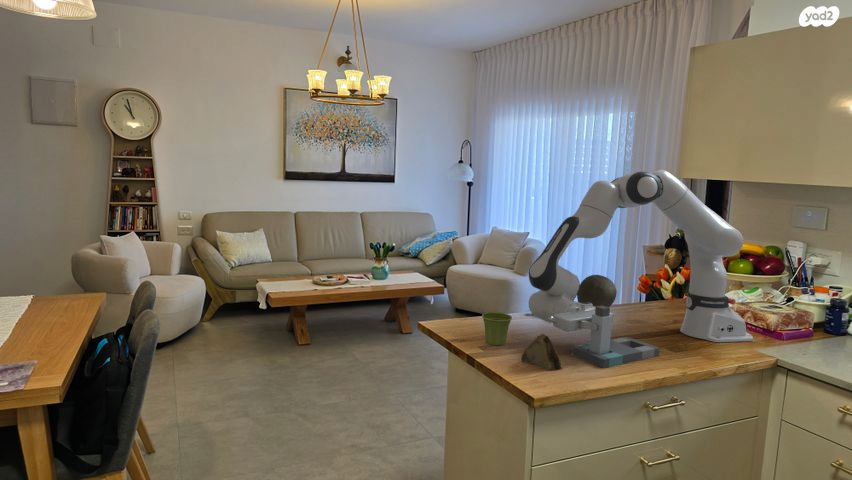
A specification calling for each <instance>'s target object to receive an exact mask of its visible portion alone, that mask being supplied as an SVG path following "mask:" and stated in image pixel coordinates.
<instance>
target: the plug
mask: <svg viewBox="0 0 852 480" xmlns="http://www.w3.org/2000/svg"><path fill="white" fill-rule="evenodd" d="M610 312H611V307H605V306H596V310H595V314H592V322H591V323H596V324H598V325H599V330H595V331H594V330H591V329H590V337H589V344H590V347H589V350H590V351H592V352H595V353H597V354H600V355H601V354H606V353H609V350H610V340H611V336H612V335H611V334H612V326H613V324H612V316H610V315H609V314H610Z"/></svg>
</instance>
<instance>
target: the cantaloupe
mask: <svg viewBox="0 0 852 480" xmlns="http://www.w3.org/2000/svg"><path fill="white" fill-rule="evenodd" d="M617 294H618V293H617V288H616V285H615V283H614V282H613V280H611V279H610V278H608V277H607V276H604V275H601V274H592V275H588V276H586V277H585V278H584V279H583V280H582V281H581V282H580V287H579V291H578V293H577V296H576V297H577V302H586V303H592V304H593V306H605V307H609V308H611V306H612V305H613V304H614V303H615V300H616V297H617Z"/></svg>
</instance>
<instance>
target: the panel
mask: <svg viewBox="0 0 852 480" xmlns="http://www.w3.org/2000/svg"><path fill="white" fill-rule="evenodd" d="M589 347H590V343H587V344H582V345H577V346H572V356H573V357H576V358H578V359H580V360H582V361H585V362H588V363H590V364H593V365H594V366H595V365H596V366H597V367H600V368H603V369H607V368H609V367H615V366H619V365H623V364H627V363H632V362H637V361H641V360H645V359H650V358H654V357H660V356H659V355H660V347H659V346H655V345H652V344H649V343H647V342H643V341H640V340H638V339H635V338H632V337H629V336H624V337H619V338H614V339H610V350H609V353H606V354H601V355H600V354H597V353H595V352H592V351H590V350H589Z"/></svg>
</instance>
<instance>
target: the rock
mask: <svg viewBox="0 0 852 480" xmlns="http://www.w3.org/2000/svg"><path fill="white" fill-rule="evenodd" d="M520 359H521V362H523V363H526V364H529V365H531V366H535V367H537V368H541V369H545V370H548V371H556V370H557V371H559V370H562V369H563V367H562V363H561V360H560V359H561V358H560V357H559V355H558V353H557V351H556V348H555V345H554V344H553V342H552V340H551V339H550V337H549V335H546V334H543V333H541V334H539V335H538V336H536V337H535V339H533V341H532V342H531V343H530V344H529V345H528V346H527V347H526V348H525V349H524V352H523V354H521V358H520Z"/></svg>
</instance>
